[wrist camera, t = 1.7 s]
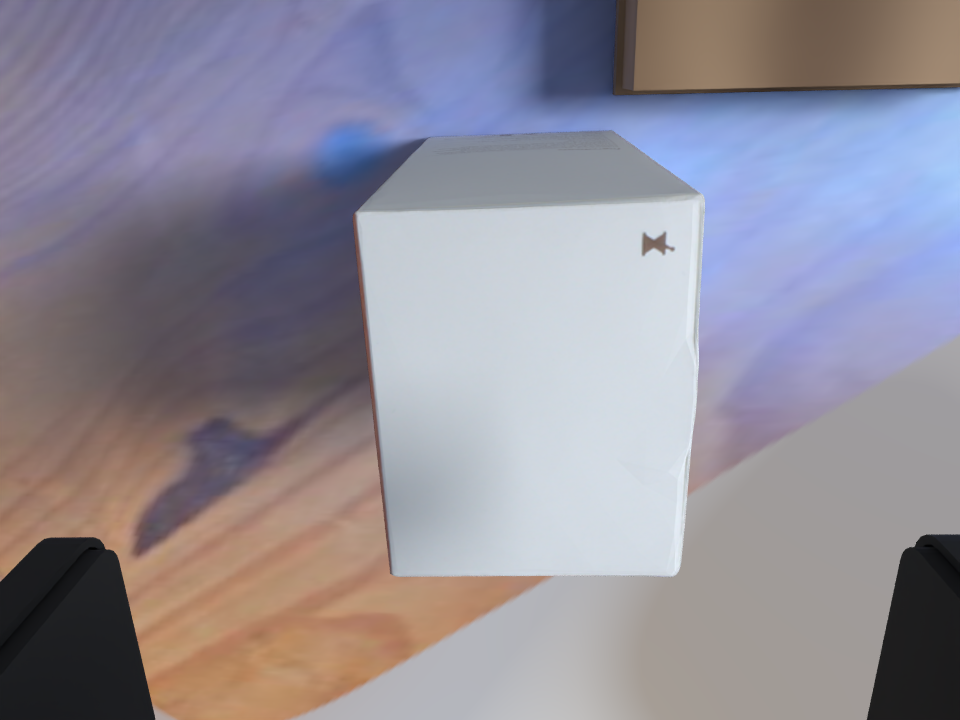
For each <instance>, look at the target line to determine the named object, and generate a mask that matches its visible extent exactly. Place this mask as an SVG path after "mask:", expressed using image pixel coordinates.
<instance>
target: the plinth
mask: <svg viewBox="0 0 960 720" xmlns="http://www.w3.org/2000/svg"><path fill="white" fill-rule="evenodd" d="M947 87H960V0H616V26H615V51H614V77H613V95H639V94H683V93H727V92H771V91H815V90H859V89H903V88H947Z"/></svg>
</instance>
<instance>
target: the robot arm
mask: <svg viewBox="0 0 960 720" xmlns="http://www.w3.org/2000/svg"><path fill="white" fill-rule="evenodd" d="M0 720H155V715H154V711H153V706H152V702H151V698H150V693H149V689H148V685H147V680H146V676H145V672H144V667H143V663H142V659H141V654H140V650H139V646H138V641H137V637H136V633H135V628H134V624H133V620H132V615H131V611H130V607H129V602H128V598H127V594H126V589H125V585H124V581H123V576H122V572H121V568H120V563H119V560H118V557H117V555H116V553H115V552H114V551H112V550H106V549H105V547H104V544H103V543H102V542H101V541H100V540H99V539H97V538H94V537H78V538H47V539H44V540H42V541H41V542H40V543H38V544H37V545H36V546H35V547H34V548H33V549H32V550H31V551H30V552H29V553H28V554H27V555H26V556H25V557H24V558H23V559H22V560H21V561H20V562H19V563H18V564H17V565H16V566H15V568H14V569H13V570H12V571H11V572H10V573H9V574H8V575H7V576H6V577H5V578H4V579H3V580H2V581H1V582H0ZM867 720H960V535H924V536H922V537H920V539H919V540H918V541H917V542H916V545H915V547H910V548H907V549H905V551H904V552H903V554H902V556H901V560H900V564H899V569H898V574H897V578H896V583H895V588H894V593H893V597H892V602H891V607H890V612H889V617H888V621H887V626H886V631H885V636H884V640H883V645H882V650H881V655H880V660H879V664H878V669H877V674H876V679H875V683H874V688H873V693H872V698H871V703H870V707H869V712H868V717H867Z"/></svg>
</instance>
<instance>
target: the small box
mask: <svg viewBox="0 0 960 720" xmlns="http://www.w3.org/2000/svg"><path fill="white" fill-rule="evenodd" d="M704 214H705V199H704V196H703V194H701V193H700V192H698V191H697V190H695V189H694V188H692V187H691V186H689V185H688V184H687V183H685V182H684V181H682V180H681V179H680V178H678V177H677V176H675V175H674V174H672V173H671V172H670V171H668V170H667V169H665V168H664V167H663V166H661V165H660V164H658V163H657V162H656V161H654V160H653V159H651V158H650V157H649V156H647V155H646V154H645V153H643V152H642V151H640V150H639V149H638V148H636V147H635V146H634V145H632V144H631V143H629V142H628V141H626V140H625V139H624V138H622V137H621V136H619V135H618V134H616V133H615V132H614V131H611V130H609V131H584V132H558V133H532V134H506V135H474V136H446V137H430V138H428V139H427V140H426V141H425V142H424V143H423V144H422V145H421V146H420V147H419V148H418V149H417V150H416V151H415V152H413V153H412V154H411V155H410V156H409V158H408V159H407V160H406V161H405V162H404V163H403V164H402V165H401V166H400V167H399V168H398V169H397V170H396V171H395V172H394V173H393V174H392V175H391V176H390V177H389V178H388V179H387V181H386V182H384V183H383V184H382V185H381V186H380V187H379V188H378V189H377V191H376V192H375V193H374V194H373V195H372V196H371V197H370V198H369V199H368V200H367V201H366V202H365V203H364V204H363V205H362V206H361V207H360V208H359V209H358V210H357V211H356V212H355V213H354V214H353V228H354V238H355V248H356V258H357V267H358V277H359V287H360V297H361V307H362V317H363V326H364V335H365V345H366V354H367V363H368V372H369V382H370V391H371V399H372V409H373V420H374V430H375V439H376V448H377V458H378V467H379V473H380V484H381V493H382V502H383V511H384V521H385V530H386V539H387V548H388V557H389V565H390V574H392V575H394V576H399V577H415V576H563V575H564V576H566V575H567V576H571V575H574V576H580V575H581V576H657V577H672V576H675V575H676V574H677V572H678V571H679V569H680V565H681V555H682V547H683V537H684V526H685V515H686V504H687V489H688V478H689V467H690V454H691V444H692V435H693V428H694V421H695V414H696V402H697V378H698V368H699V349H698V324H699V307H700V286H701V269H702V248H703V231H704Z"/></svg>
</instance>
